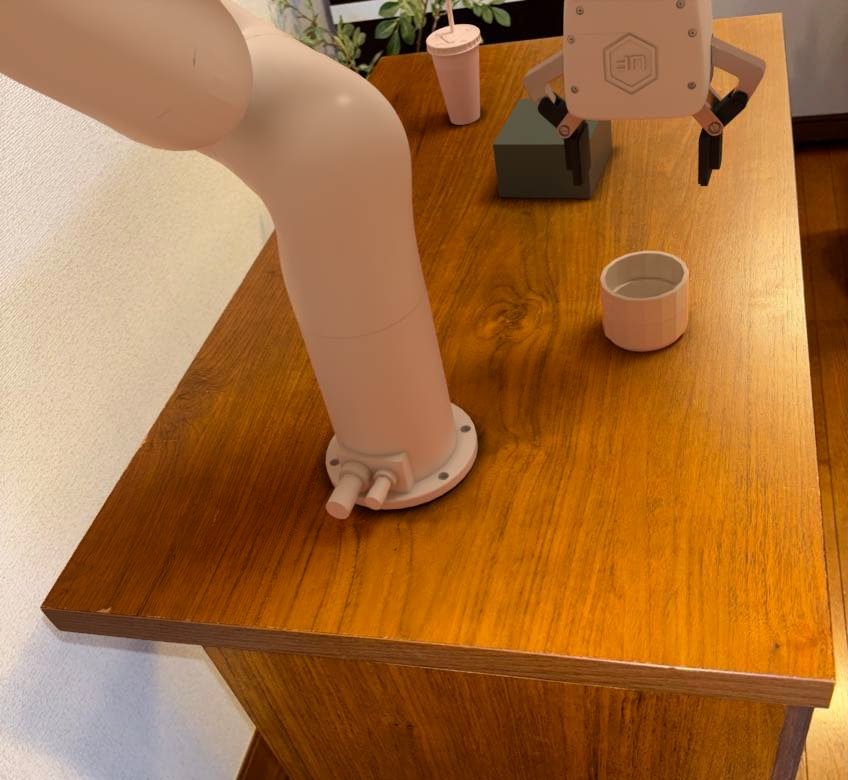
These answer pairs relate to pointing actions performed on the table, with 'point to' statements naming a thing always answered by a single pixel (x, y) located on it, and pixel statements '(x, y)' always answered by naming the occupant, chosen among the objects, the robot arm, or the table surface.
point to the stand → (544, 156)
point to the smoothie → (457, 68)
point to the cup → (645, 300)
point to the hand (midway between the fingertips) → (642, 177)
